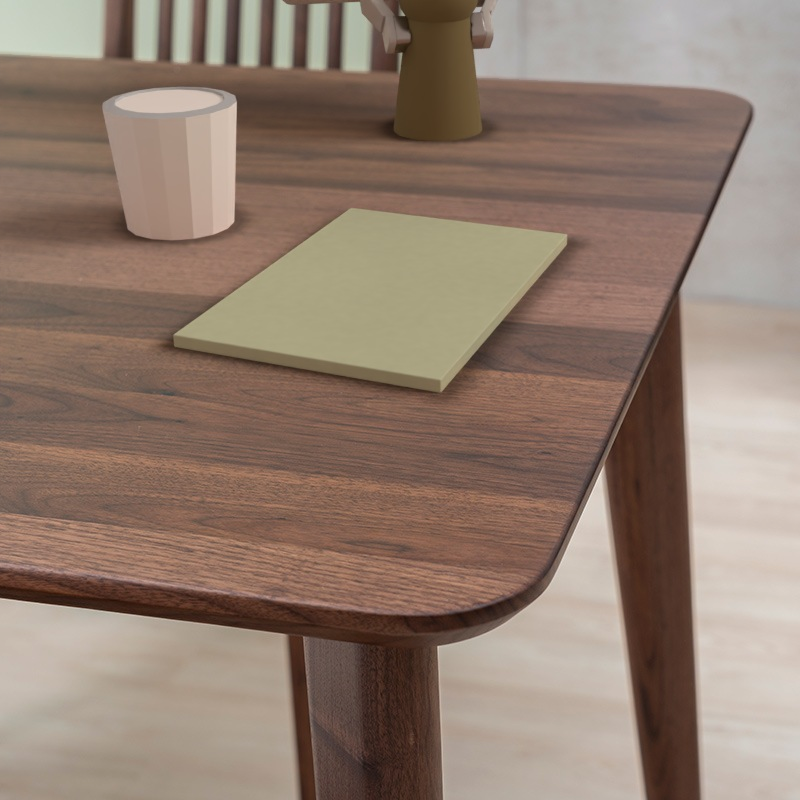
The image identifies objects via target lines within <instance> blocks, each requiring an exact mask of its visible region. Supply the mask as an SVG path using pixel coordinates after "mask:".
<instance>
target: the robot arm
mask: <svg viewBox="0 0 800 800" xmlns="http://www.w3.org/2000/svg"><path fill="white" fill-rule="evenodd" d="M387 1H390V0H282V2H284V3H285V4H286V5H290V6H299V5H300V6H301V5H320V4H321V5H323V4H344V3H359V4H360V12H361V14H362V15H363V16H364V18H365V19H366V20H367V21H368V22H369V23H371V25H372V26H373V28H375V29H376V31H378V32H379V34H382V40H383V47H384V52H385V54H387V55H388V54H389V55H391V54H402V53H405V51H406V49H407V47H408V46H409V45H410V44H411V31H410V30H409V29H408V27H409V22H408V18H407V17H406V16H405V15H395V13H394V12H393V10H392V9H391V8H390V7H389V5H388V4H387V3H386V2H387ZM497 3H498V0H478V2H477V6H476V8H481V9H480V10H479V11H477V12H475V11H473V13H472V14H471V16H470V24H471V41H472V43H473V50H482V49H483V50H485V49H486V50H487V49H490V48H491V46H492V44H493V41H494V26H493V21H492V16H493V13H494V11H495V8H496V6H497Z"/></svg>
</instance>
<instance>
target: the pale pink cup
mask: <svg viewBox="0 0 800 800" xmlns="http://www.w3.org/2000/svg"><path fill="white" fill-rule="evenodd" d="M101 107H102V109H101V110H102V114H103V118H104V119H103V120H104V123H105V128H106V133H107V137H108V142H109V147H110V152H111V157H112V161H113V164H114V165H113V167H114V170H115V175H116V180H117V185H118V190H119V194H120V199H121V204H122V208H123V213H124V219H125V223H126V228H127V230H128V231H129V232H131V233H132V234H133V235H135V236H137V237H141V238H145V239H150V240H159V241H161V240H162V241H182V240H195V239H200V238H204V237H209V236H214V235H216V234H218V233H221V232H223V231H226V230H228V229H229V228H230V227H231V226H232V225H233V224H234V223H235V213H236V212H235V211H236V209H235V208H236V207H235V205H236V166H237V165H236V164H237V160H236V159H237V117H238V116H237V113H238V111H237V110H238V100H237V98H236V95H235V94H232V93H230V92H228V91H226V90H222V89H216V88H210V87H204V86H203V87H199V86H167V87H153V88H152V87H151V88H146V89H145V88H144V89H139V90H132V91H129V92H124V93H121V94H118V95H113V96H112V97H110V98H108V99H107V100H105V101H103V102H102V106H101Z"/></svg>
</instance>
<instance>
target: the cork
mask: <svg viewBox="0 0 800 800" xmlns="http://www.w3.org/2000/svg"><path fill="white" fill-rule="evenodd" d="M397 1H398V4H399V8H400V10H401V12H402V13H403V16H406V17H407V18H408V22H409V27H408V29H409V30H410V31H411V44H410V45H409V46H408V47H407V49H406V51H405V53H401V61H400V69H399V79H398V87H397V94H396V95H397V96H396V106H395V112H394V113H395V114H394V120H393V121H394V122H393V132H394V133H395V134H396V135H398V136H400V137H403V138H406V139H410V140H417V141H425V142H427V141H428V142H449V141H457V140H464V139H468V138H473V137H475V136H477V135H479V134H481V133H482V131H483V124H482V122H483V121H482V115H481V105H480V97H479V89H478V78H477V69H476V61H475V52H474V49H473V43H472V41H471V24H470V16H471V14H472V13H474V12H475V10H476V9H477V7H476V6H477V2H478V0H397Z"/></svg>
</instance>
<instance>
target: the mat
mask: <svg viewBox="0 0 800 800" xmlns="http://www.w3.org/2000/svg"><path fill="white" fill-rule="evenodd" d="M567 245H568V234H567V233H562V232H553V231H544V230H536V229H529V228H528V229H527V228H519V227H511V226H503V225H495V224H488V223H487V224H486V223H478V222H471V221H470V222H469V221H461V220H454V219H445V218H437V217H431V216H421V215H413V214H405V213H397V212H387V211H380V210H373V209H365V208H363V209H362V208H354V207H350V208H349V209H347V210H345V211H344V212H343V213H342V214H340V215H339V216H337V217H336V218H335V219H333V220H332V221H331V222H329V223H328V224H326V225H325V226H323V227H322V228H321V229H319V230H318V231H316V232H315V233H313V234H312V235H311V236H309V237H308V238H307V239H305V240H304V241H302V242H301V243H299V244H298V245H297V246H295V247H294V248H292V249H291V250H290V251H289V252H287V253H285V254H284V255H282V256H281V257H280V258H278V259H277V260H276V261H275V262H273V263H272V264H270V265H268V266H267V267H266V268H265V269H263V270H262V271H260V272H258V274H256V275H255V276H253V277H252V278H250V279H249V280H248V281H246V282H245V283H243V284H242V285H240V286H239V287H238V288H236V289H235V290H234V291H232V292H231V293H230V294H228V295H227V296H225V297H224V298H223V299H221V300H219V301H218V302H216V303H215V304H214V305H213V306H212V307H210V308H208V309H207V310H206V311H205V312H203V313H202V314H200V315H199V316H197V317H196V318H194V319H193V320H192V321H190V322H189V323H187V324H186V325H185V326H183V327H182V328H181V329H179V330H178V331H176V332H175V333H173V334H172V337H173V347H175V348H179V349H186V350H191V351H196V352H203V353H208V354H214V355H220V356H225V357H230V358H231V357H232V358H237V359H242V360H243V359H244V360H249V361H253V362H254V361H255V362H261V363H265V364H272V365H278V366H283V367H288V368H289V367H290V368H295V369H301V370H306V371H311V372H318V373H323V374H330V375H335V376H342V377H347V378H353V379H359V380H364V381H370V382H374V383H375V382H376V383H380V384H381V383H382V384H386V385H387V384H388V385H393V386H397V387H398V386H399V387H405V388H410V389H416V390H422V391H427V392H433V393H439V394H440V393H442V392H443V391H444V390H445V389H446V387H448V385H449V384H450V383H451V381H452V380H453V379H454V378H455V377H456V375H457V374H458V373H459V372H460V371H461V370H462V369H463V368H464V366H465V365H466V364H467V363H468V361H470V359H471V358H472V356H474V355H475V353H476V352H477V351H478V350H479V348H480V347H481V346H482V345H483V344H484V343H485V342H486V341H487V339H489V337H490V336H491V335H492V333H494V331H495V330H496V328H497V327H498V326H499V325H500V324H501V322H503V321H504V320H505V318H506V317H507V315H508V314H509V313H510V312H511V311H512V310H513V309H514V307H516V305H517V304H518V303H519V302H520V301H521V300H522V298H523V297H524V296H525V295H526V293H527V292H529V290H530V289H531V288H532V286H533V285H534V284H535V283H536V282H537V280H539V278H540V277H541V276H542V274H543V273H544V272H545V271H546V270H547V269H548V268H549V267H550V265H551V264H552V263H553V262H554V261H555V260H556V258H557V257H558V256H559V255H560V253H561V252H562V251H563V250H564V249H565V248H566V246H567Z"/></svg>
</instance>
